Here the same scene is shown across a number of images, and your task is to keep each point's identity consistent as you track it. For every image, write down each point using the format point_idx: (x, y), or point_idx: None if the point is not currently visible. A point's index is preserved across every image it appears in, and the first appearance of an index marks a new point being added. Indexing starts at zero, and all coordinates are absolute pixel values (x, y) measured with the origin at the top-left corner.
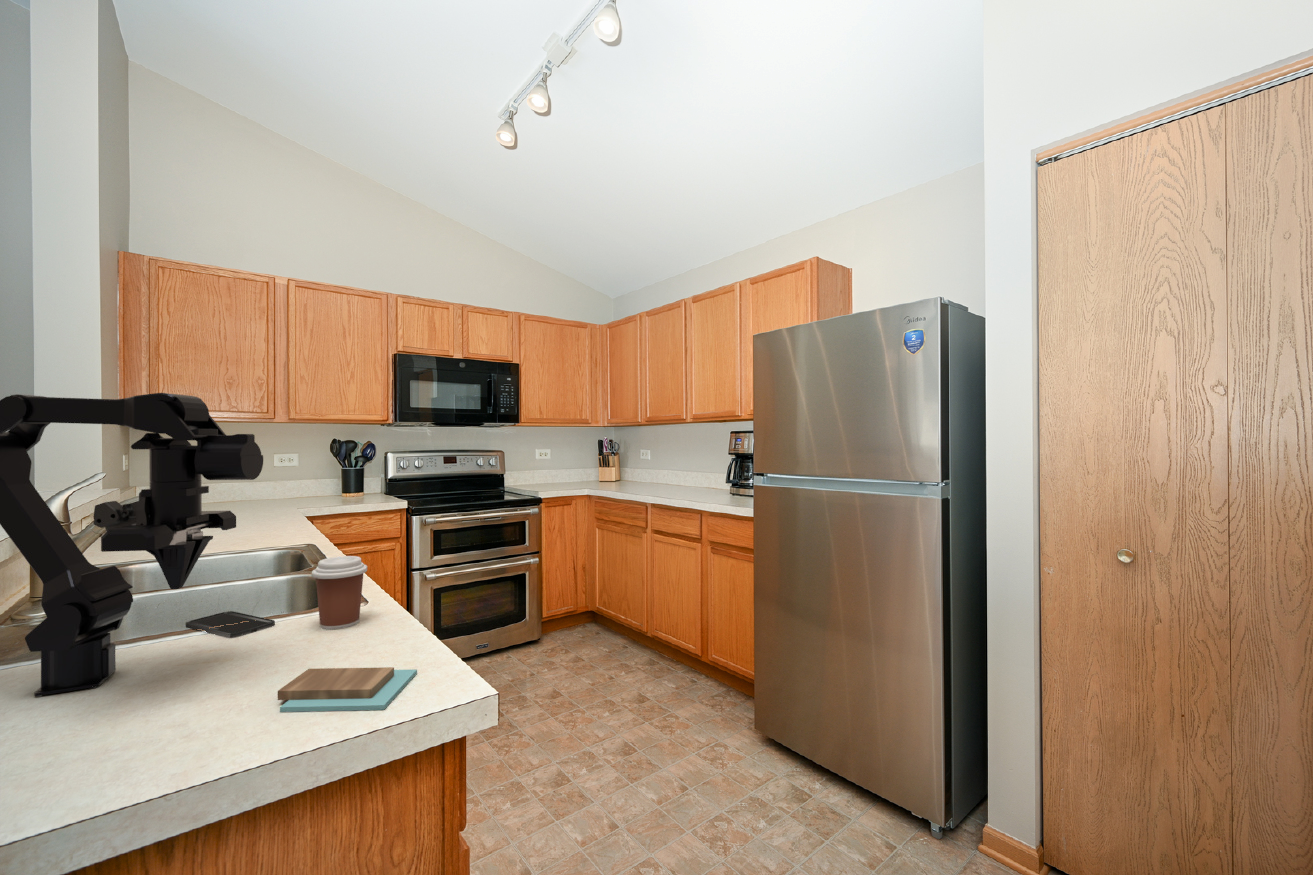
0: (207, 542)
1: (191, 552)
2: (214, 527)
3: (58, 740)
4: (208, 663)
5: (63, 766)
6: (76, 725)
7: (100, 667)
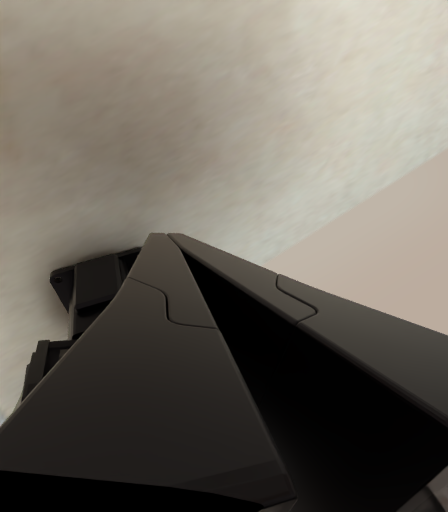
0: (34, 438)
1: (328, 332)
2: None
3: (349, 169)
4: (6, 71)
5: (443, 108)
6: (305, 177)
7: (124, 274)
